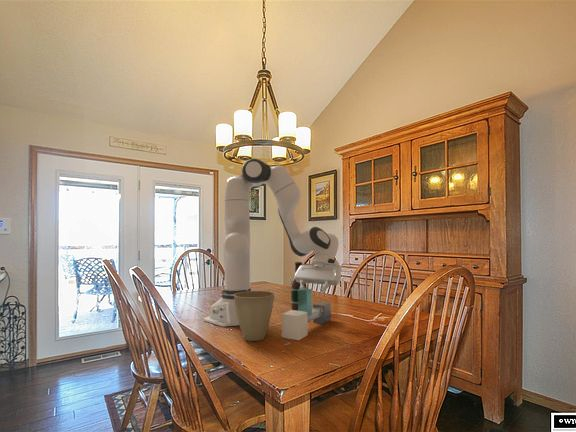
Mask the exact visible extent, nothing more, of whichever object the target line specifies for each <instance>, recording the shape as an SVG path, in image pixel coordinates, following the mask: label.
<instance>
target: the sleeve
mask: <svg viewBox="0 0 576 432" xmlns="http://www.w3.org/2000/svg"><path fill="white" fill-rule="evenodd" d="M331 306H332V305H331V302H326V301H319V302H317V303H314V304H312V309H313V308H315V307H317V308H322V315H321V316H319V317H317V318H315V319H313V320H312V321H313V323H316V324H321V325H325V324H327V323H329V322H330V321H332V313H331V311H332V310H331V308H332V307H331Z"/></svg>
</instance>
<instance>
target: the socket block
mask: <svg viewBox="0 0 576 432" xmlns="http://www.w3.org/2000/svg"><path fill="white" fill-rule="evenodd" d="M308 323H309V322H308V317H307V312H304V311H296V310H292V309H290V310H288V311H285V312H283V313H281V338H284V339H290V340H295V341H300V340H301V339H303V338H306V337H307V336H308V335H309V334H308V333H309V330H308V329H309V328H308V325H309V324H308Z"/></svg>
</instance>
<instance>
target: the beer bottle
mask: <svg viewBox="0 0 576 432" xmlns="http://www.w3.org/2000/svg"><path fill="white" fill-rule="evenodd" d="M294 265H295V266H294V267H295V268H294V274H295V273H296V271H297V270H298V268H299V266H300V265H303V262H302V261H295V262H294ZM290 285H291V287H290V295H291V296H290V299H291V300H290V304H291V305H290V307H291V309H290V310H296V311H298V289H299V288H300V282H297V281H296V280H295V278H293V280H292V282H291V284H290ZM303 285H304V287H305V288H306V289H308V287H307V283H305V284H303Z"/></svg>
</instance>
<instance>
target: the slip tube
mask: <svg viewBox="0 0 576 432" xmlns="http://www.w3.org/2000/svg"><path fill="white" fill-rule="evenodd" d="M312 294H313V293H312V288H307V289H306V288H302V289H298V311H304V312H307V317H308V323H309V322H311V321H313V319H315V318H317V317H319V316H321V315H322V312H323V308H317V307H315V308H313V303H312V302H313V301H312V300H313V299H312V296H313V295H312Z"/></svg>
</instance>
